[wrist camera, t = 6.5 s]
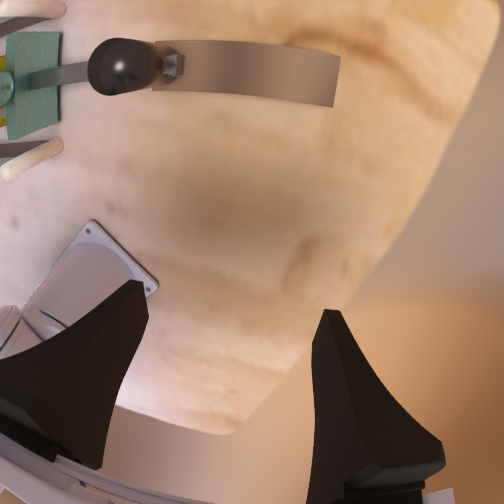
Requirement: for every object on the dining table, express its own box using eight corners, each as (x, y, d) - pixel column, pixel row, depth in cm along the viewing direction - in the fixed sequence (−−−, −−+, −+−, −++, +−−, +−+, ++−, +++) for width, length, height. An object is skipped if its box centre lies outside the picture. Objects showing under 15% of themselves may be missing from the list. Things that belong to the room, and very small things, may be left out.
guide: (333, 58, 15) (340, 56, 13) (326, 104, 17) (332, 107, 15) (167, 43, 15) (155, 41, 13) (164, 88, 17) (151, 90, 15)
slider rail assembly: (197, 12, 14) (149, -19, 7) (188, 120, 17) (137, 151, 11) (43, 36, 14) (-34, 43, 7) (42, 124, 18) (-30, 156, 11)
